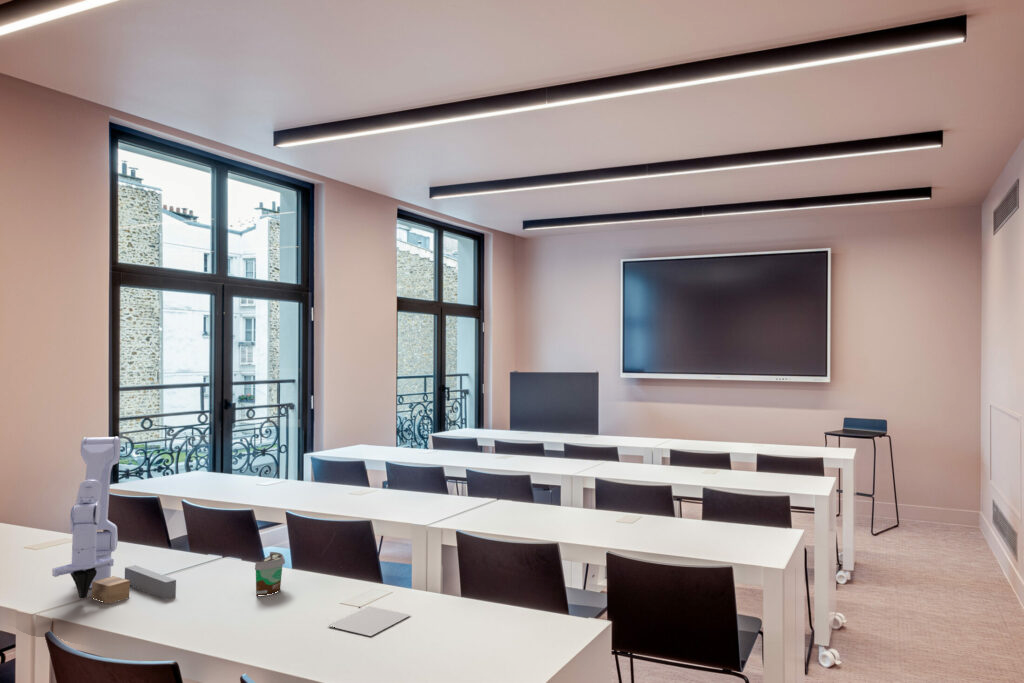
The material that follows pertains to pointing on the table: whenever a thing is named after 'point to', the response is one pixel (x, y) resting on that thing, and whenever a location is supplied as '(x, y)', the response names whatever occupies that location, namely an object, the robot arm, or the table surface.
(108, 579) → the tan block
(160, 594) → the gray rectangular bar
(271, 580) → the food container
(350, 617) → the grey flat panel
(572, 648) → the table surface
